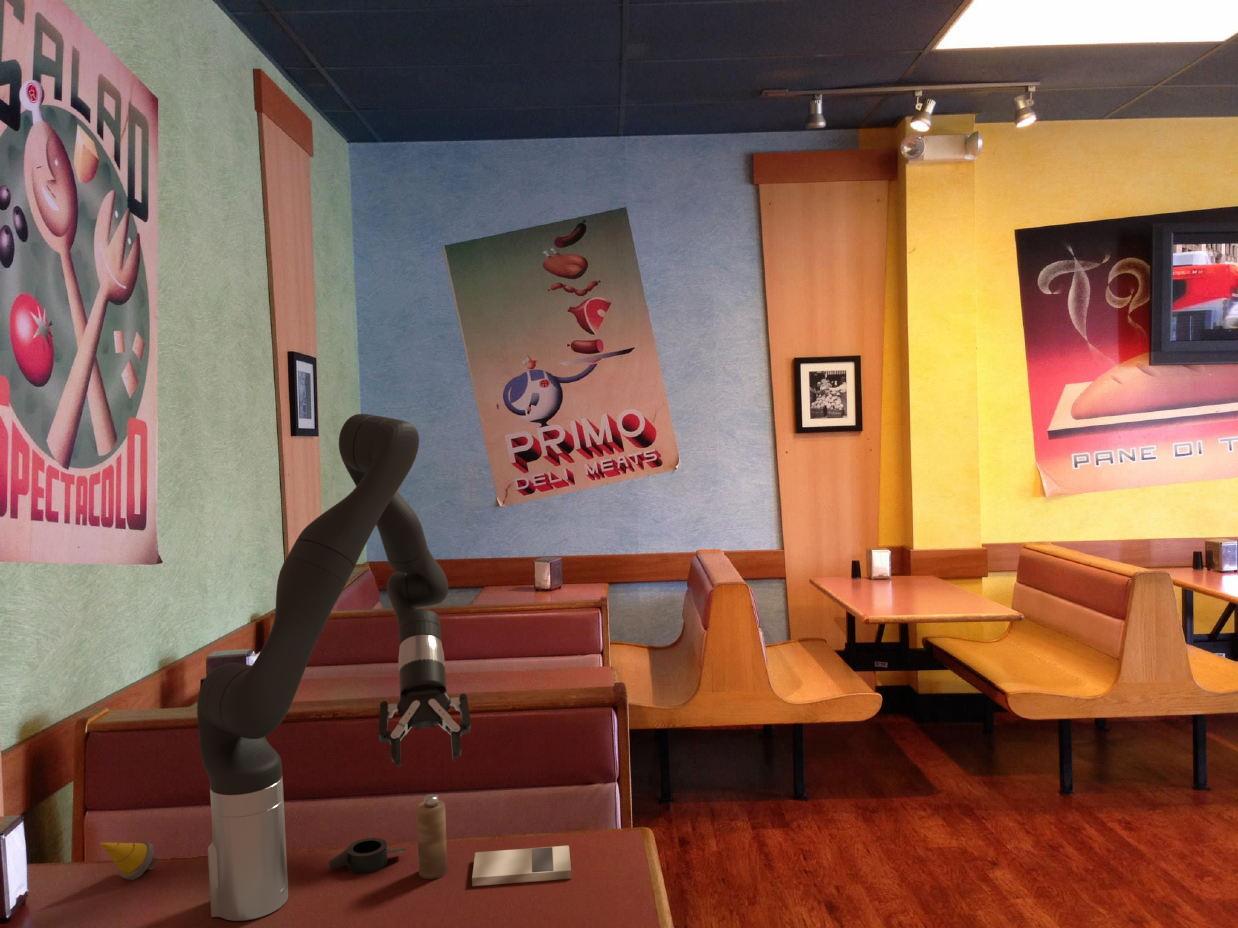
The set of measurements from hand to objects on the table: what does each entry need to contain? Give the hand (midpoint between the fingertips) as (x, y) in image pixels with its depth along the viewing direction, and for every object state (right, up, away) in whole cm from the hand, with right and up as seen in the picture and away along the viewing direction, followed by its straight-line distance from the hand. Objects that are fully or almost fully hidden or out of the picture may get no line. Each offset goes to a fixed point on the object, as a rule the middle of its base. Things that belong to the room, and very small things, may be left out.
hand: (427, 761), depth 142 cm
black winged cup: (-8, -14, -5) cm, 17 cm away
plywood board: (+16, -13, -8) cm, 22 cm away
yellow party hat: (-42, -15, -7) cm, 45 cm away
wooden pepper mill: (+3, -14, -8) cm, 16 cm away
